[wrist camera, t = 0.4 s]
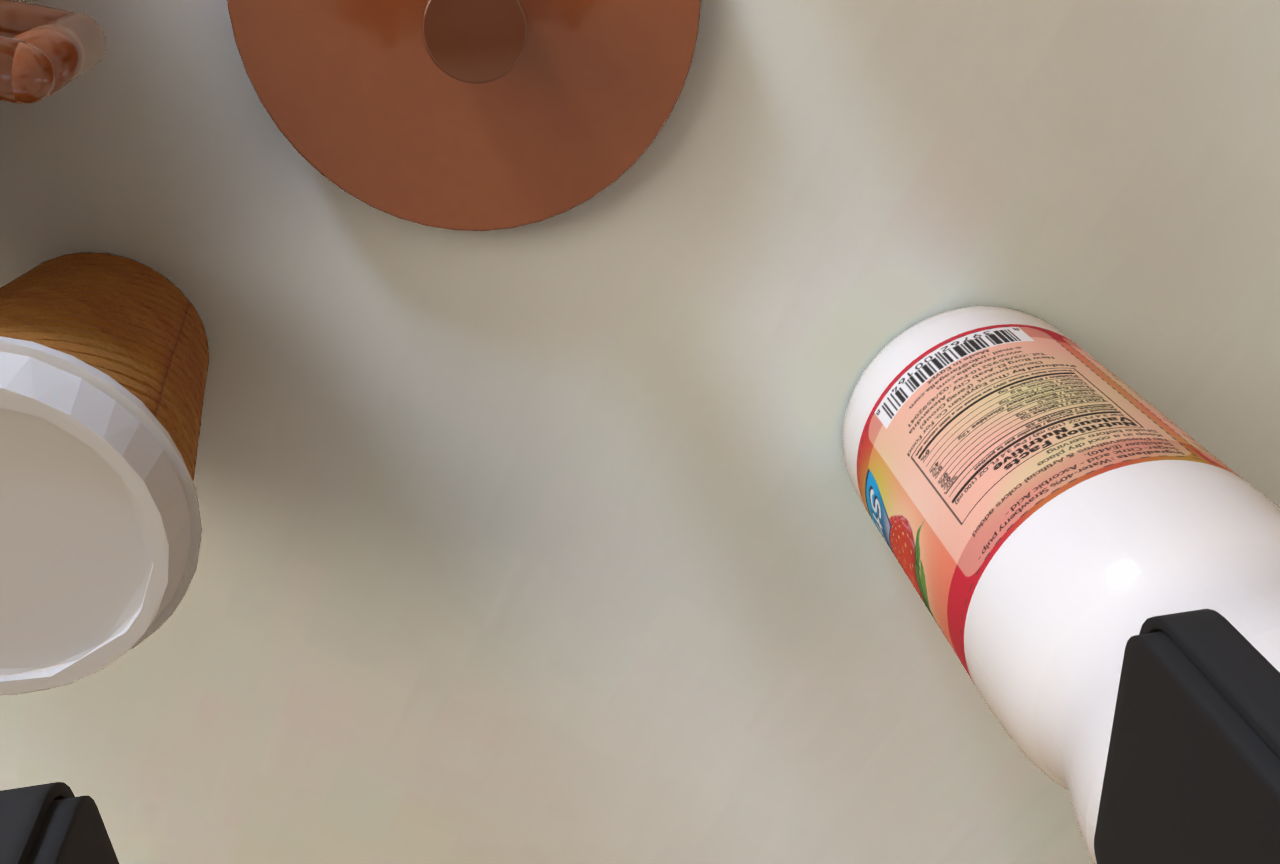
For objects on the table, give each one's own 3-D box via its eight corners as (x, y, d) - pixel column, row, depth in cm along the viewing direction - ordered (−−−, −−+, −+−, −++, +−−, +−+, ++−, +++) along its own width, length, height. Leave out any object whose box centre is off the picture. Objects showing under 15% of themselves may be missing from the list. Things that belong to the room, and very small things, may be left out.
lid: (167, -230, 30) (108, -243, 25) (667, -298, 31) (713, -325, 26) (301, 253, 37) (277, 324, 31) (714, 184, 38) (758, 241, 32)
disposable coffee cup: (-14, 485, 39) (-184, 729, 28) (-96, 206, 34) (-335, 372, 24) (280, 465, 40) (221, 692, 29) (236, 193, 36) (149, 345, 25)
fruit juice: (1126, 351, 43) (2039, 1048, 18) (990, 553, 46) (1607, 1368, 22) (919, 258, 40) (1677, 940, 15) (790, 480, 43) (1242, 1331, 19)
